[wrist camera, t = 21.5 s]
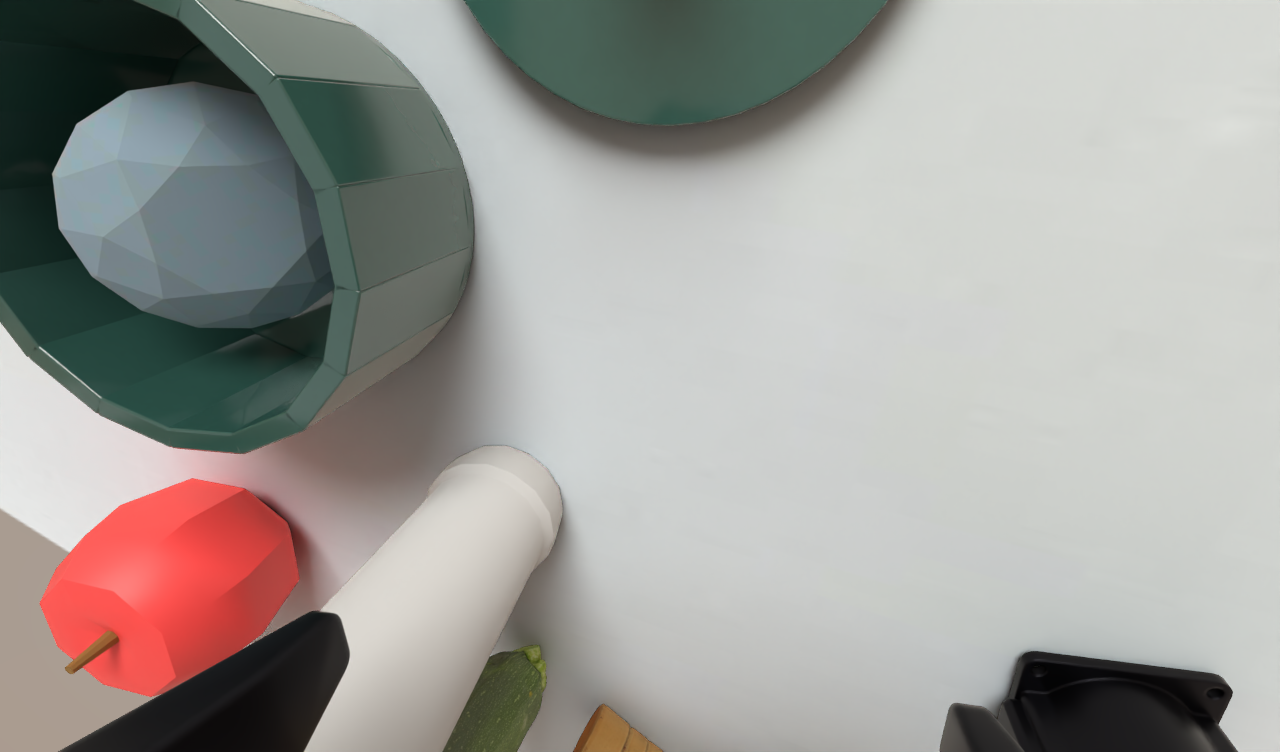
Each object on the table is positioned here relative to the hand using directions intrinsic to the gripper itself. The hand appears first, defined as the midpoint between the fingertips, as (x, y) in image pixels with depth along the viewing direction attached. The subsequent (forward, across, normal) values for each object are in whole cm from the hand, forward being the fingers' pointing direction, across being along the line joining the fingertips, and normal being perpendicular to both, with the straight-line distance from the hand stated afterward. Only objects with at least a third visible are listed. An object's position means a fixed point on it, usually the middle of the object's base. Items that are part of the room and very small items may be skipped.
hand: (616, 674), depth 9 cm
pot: (+13, +14, -5) cm, 20 cm away
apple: (+13, +21, +10) cm, 27 cm away
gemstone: (+13, +14, -5) cm, 20 cm away
